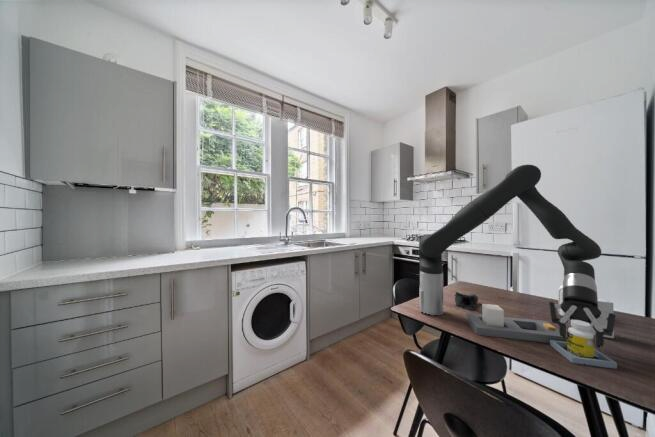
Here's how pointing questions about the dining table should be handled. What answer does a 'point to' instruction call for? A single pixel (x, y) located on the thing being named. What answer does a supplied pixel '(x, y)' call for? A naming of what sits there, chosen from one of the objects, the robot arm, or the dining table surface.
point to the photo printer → (560, 300)
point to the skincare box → (604, 307)
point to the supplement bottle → (580, 340)
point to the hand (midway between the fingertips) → (580, 341)
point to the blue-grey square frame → (580, 360)
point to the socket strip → (511, 326)
